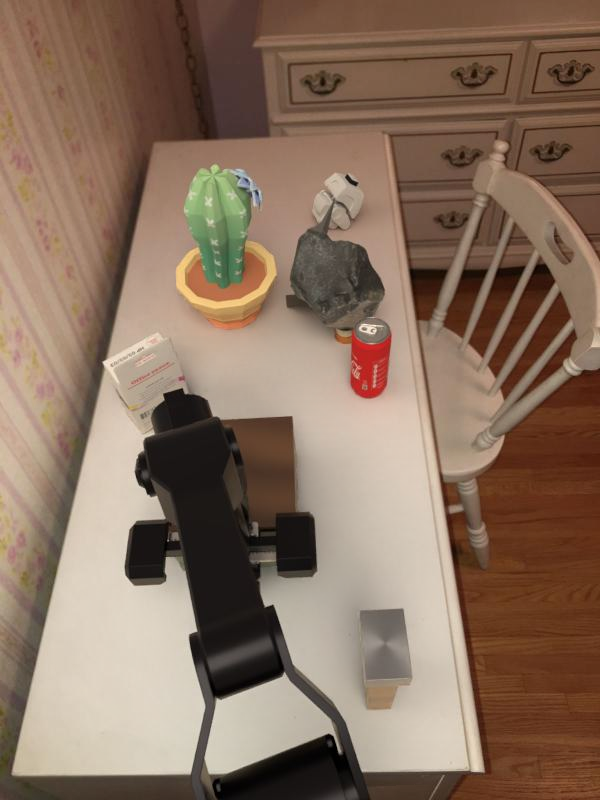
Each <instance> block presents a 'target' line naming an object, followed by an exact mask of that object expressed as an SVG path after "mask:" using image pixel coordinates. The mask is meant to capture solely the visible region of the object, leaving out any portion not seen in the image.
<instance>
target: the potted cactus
mask: <svg viewBox="0 0 600 800" xmlns="http://www.w3.org/2000/svg"><path fill="white" fill-rule="evenodd" d="M209 170H210V171H209ZM209 170H208V169H206V168H205V167H204V168H203V167H201V168H199V170H198V171H197V173H196V174H195V176H194V177H193V179H192V180H191V182H190V184H189V189H188V194H187V196H186V199H185V202H184V205H183V213H184V216H185V220H186V224H187V226H188V230H189V233H190V235H191V237H192V238H193V240H194V241H195V243H196V244H197V247H195V248H192V250H190V251H188V252H187V253H186V255H185V256H184V257H183V259H182V260H181V261H180V263H179V264H178V266H177V267H176V268H175V281H176V282H175V283H176V289H177V291H178V292H179V293H180V295H181V296H182V297H183V298H184V299H185V301H187V302H188V303H189V305H191V306H192V308H194V309H196V310H198V311H199V312H200V313H201V314H202V315H203V316H204V317H205V318H206V319H207V321H209V322H210V323H211V325H213V326H214V327H215V328H220V329H224V330H227V331H228V330H235V329H236V330H237V329H242V328H245V327H246V326H248V325H250V324H251V323H253V322H255V321H256V319H257V317H258V316H259V314H260V313H261V307H262V305H263V303H264V301H265V299H266V298H267V296H268V295H269V293H270V291H271V290H272V287H273V286H274V285H275V283H276V279H277V275H278V273H277V268H276V262H275V258H274V255H273V254H272V253H271V252H270V251H268V250H267V248H265V247H264V246H263V245H261V244H260V243H259V242H256V241H251V240H248V237H249V226H250V223H251V221H252V218H253V217H252V216H253V215H252V203H253V207H254V208H257V207H258V209H259V213H262V212H263V198H264V196H263V195H264V194H263V192H262V190H261V188H259V186H258V185H257V184H256V182H255V181H254V180H253V179H252V177H251V176H250V175H249V174H248V173H247V172H246V171H245V170H244V169H242V168H236V169H234V168H233V169H232V168H224V169H221V168H220V167H219V165H218V164H213V165H212V166H211V167H210V169H209Z"/></svg>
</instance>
